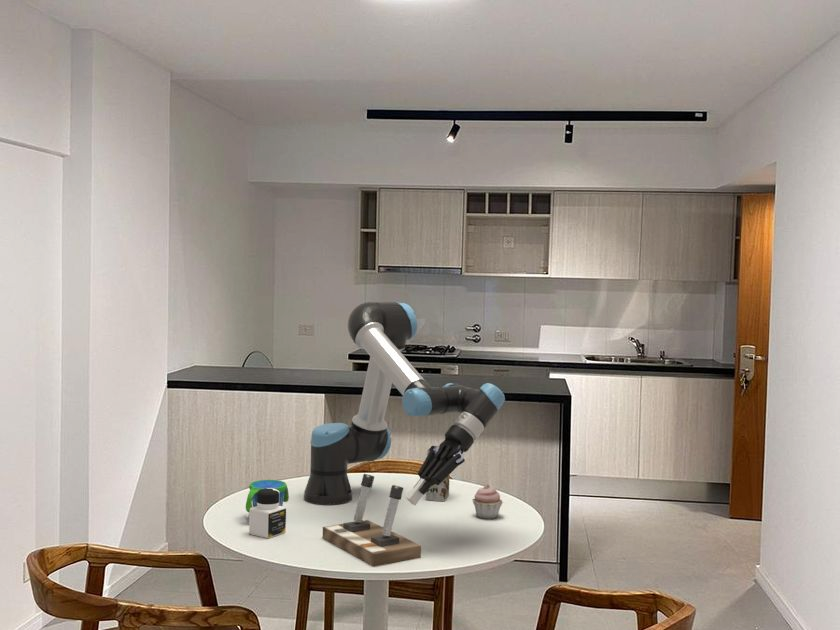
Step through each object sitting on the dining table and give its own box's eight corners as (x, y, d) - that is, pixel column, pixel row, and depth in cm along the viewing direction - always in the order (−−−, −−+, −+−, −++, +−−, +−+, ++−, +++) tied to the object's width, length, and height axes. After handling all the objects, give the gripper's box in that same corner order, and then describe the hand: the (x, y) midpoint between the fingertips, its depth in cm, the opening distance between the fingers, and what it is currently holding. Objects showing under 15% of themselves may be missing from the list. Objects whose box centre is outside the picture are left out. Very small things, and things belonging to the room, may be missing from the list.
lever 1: (349, 519, 228) (361, 473, 229) (359, 520, 230) (370, 475, 231) (355, 522, 226) (367, 475, 227) (364, 523, 227) (376, 477, 229)
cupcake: (464, 515, 255) (465, 482, 255) (485, 510, 262) (486, 478, 261) (488, 522, 248) (489, 488, 248) (508, 517, 255) (510, 484, 255)
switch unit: (322, 538, 229) (323, 521, 228) (367, 530, 237) (367, 514, 236) (373, 566, 207) (374, 548, 207) (420, 557, 215) (421, 539, 215)
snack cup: (258, 528, 236) (259, 491, 236) (233, 520, 243) (234, 485, 242) (299, 517, 248) (300, 482, 248) (275, 510, 255) (276, 476, 254)
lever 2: (377, 532, 217) (389, 484, 218) (387, 534, 218) (399, 486, 220) (384, 535, 214) (396, 486, 215) (393, 537, 216) (405, 488, 217)
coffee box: (444, 501, 270) (446, 451, 270) (425, 500, 272) (426, 450, 271) (449, 495, 279) (451, 446, 279) (430, 493, 281) (432, 444, 280)
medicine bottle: (268, 539, 226) (269, 494, 226) (248, 534, 230) (249, 490, 230) (286, 532, 232) (287, 489, 232) (266, 528, 236) (267, 485, 236)
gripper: (441, 419, 233) (388, 487, 224) (471, 427, 222) (417, 498, 213) (456, 437, 236) (404, 504, 227) (486, 445, 225) (433, 516, 216)
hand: (410, 501), depth 220 cm, fingers closed
